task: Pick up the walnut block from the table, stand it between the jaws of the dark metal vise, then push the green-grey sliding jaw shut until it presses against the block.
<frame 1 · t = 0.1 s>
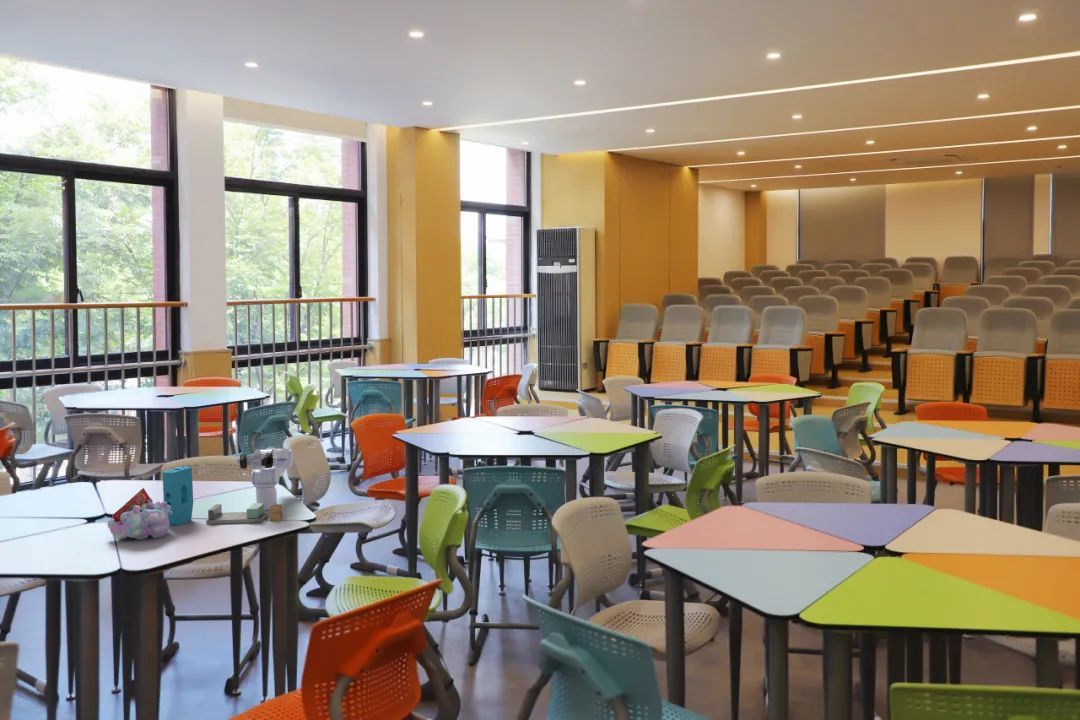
hand: (251, 462, 345), 22 cm above the table, fingers open, 7 cm apart
walnut block: (276, 518, 348), on the table
lumpy lavender blob: (140, 537, 324), on the table
vise: (238, 519, 347), on the table
block: (179, 523, 344), on the table
sliding jaw: (255, 510, 347), point 3 cm above the table, slide at 11.0 cm
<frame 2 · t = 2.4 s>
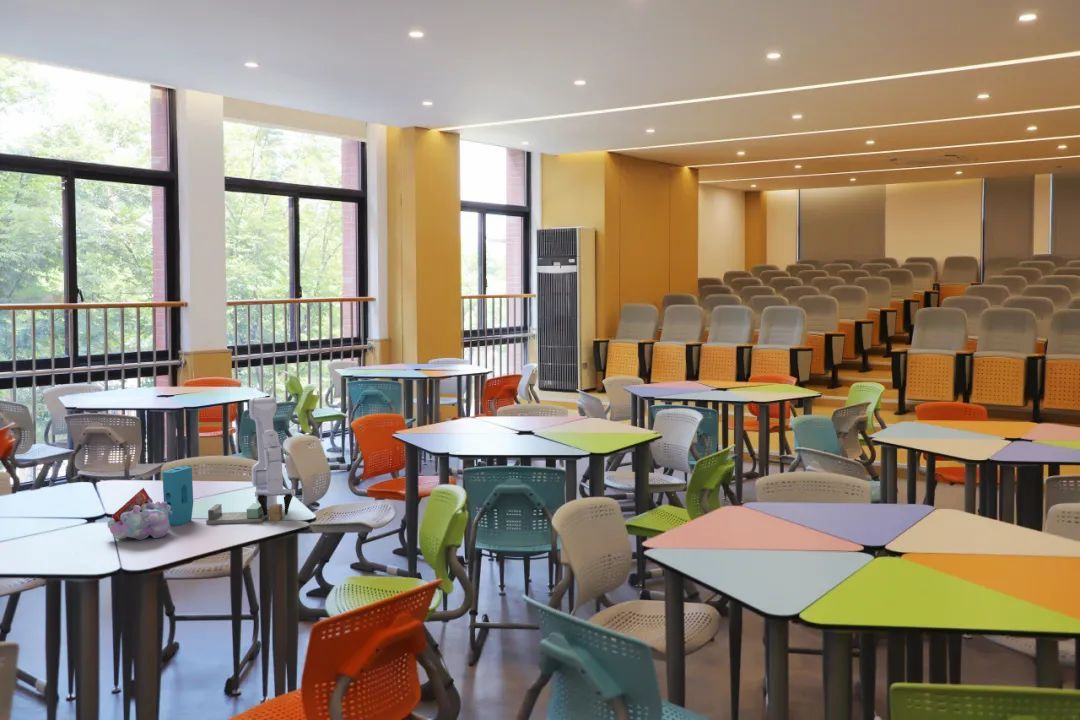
hand: (276, 514, 348), 1 cm above the table, fingers open, 7 cm apart
nothing on the table moved.
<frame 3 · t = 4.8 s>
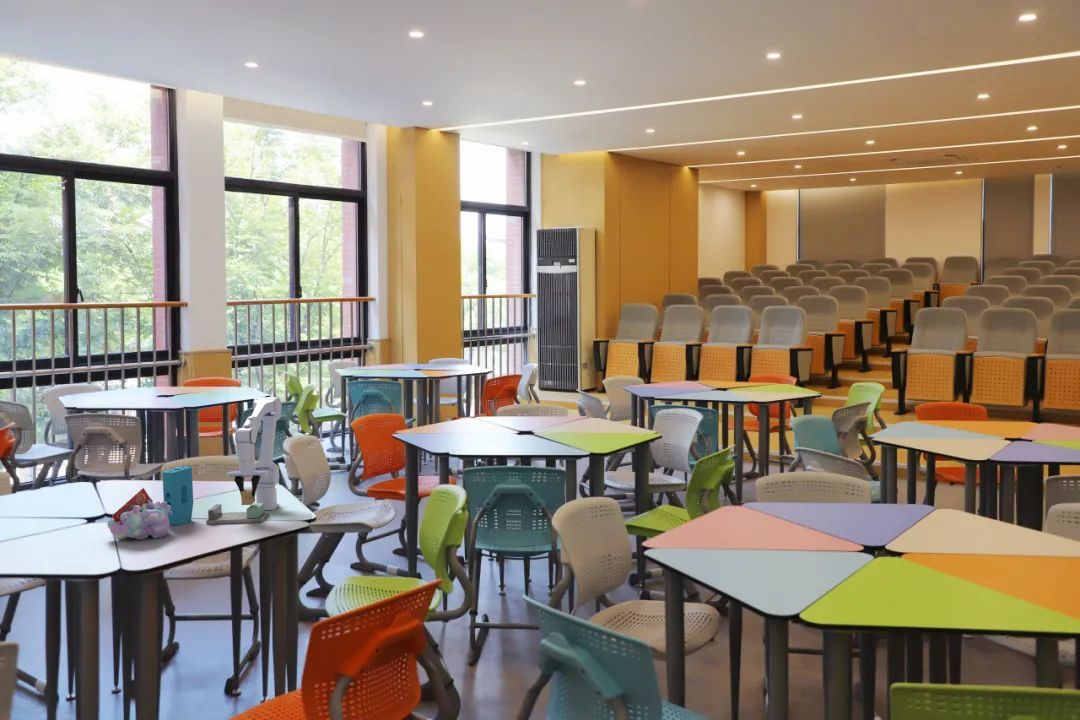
hand: (248, 495, 347), 9 cm above the table, fingers closed on walnut block, 3 cm apart
walnut block: (248, 503, 346), point 6 cm above the table, touching gripper
everything else where it was.
when the fingers open (4 cm above the table, at t = 6.5 s): walnut block stays where it is, resting on vise.
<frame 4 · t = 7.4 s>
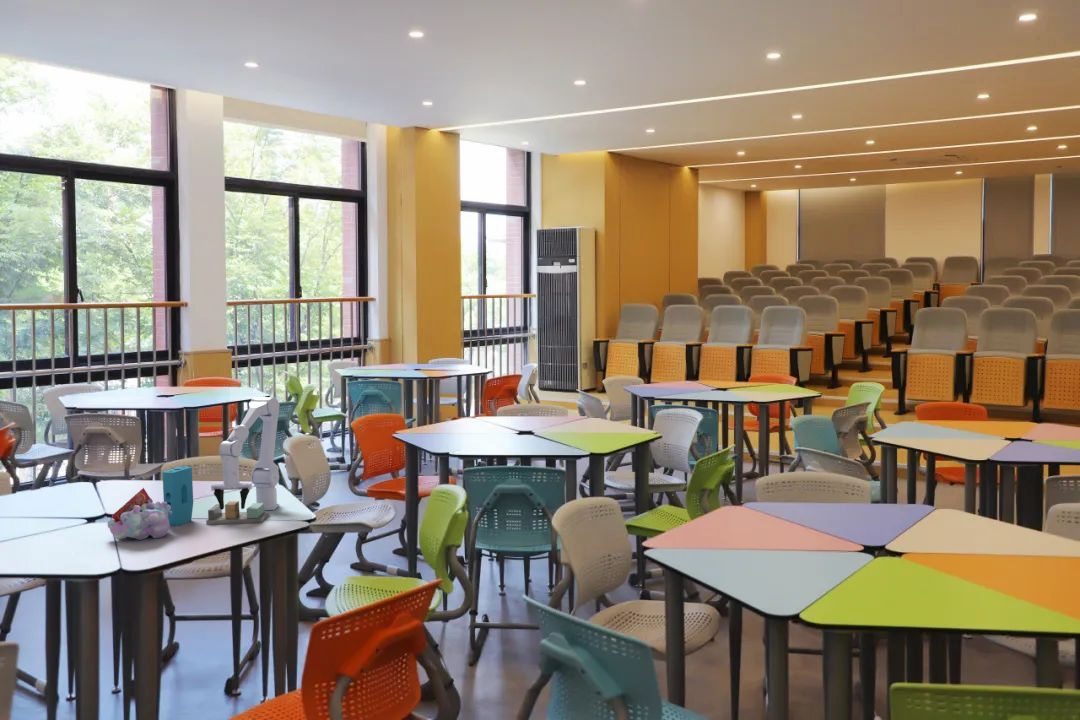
hand: (232, 508, 347), 4 cm above the table, fingers open, 7 cm apart
walnut block: (232, 516, 346), point 1 cm above the table, touching vise
everything else where it was.
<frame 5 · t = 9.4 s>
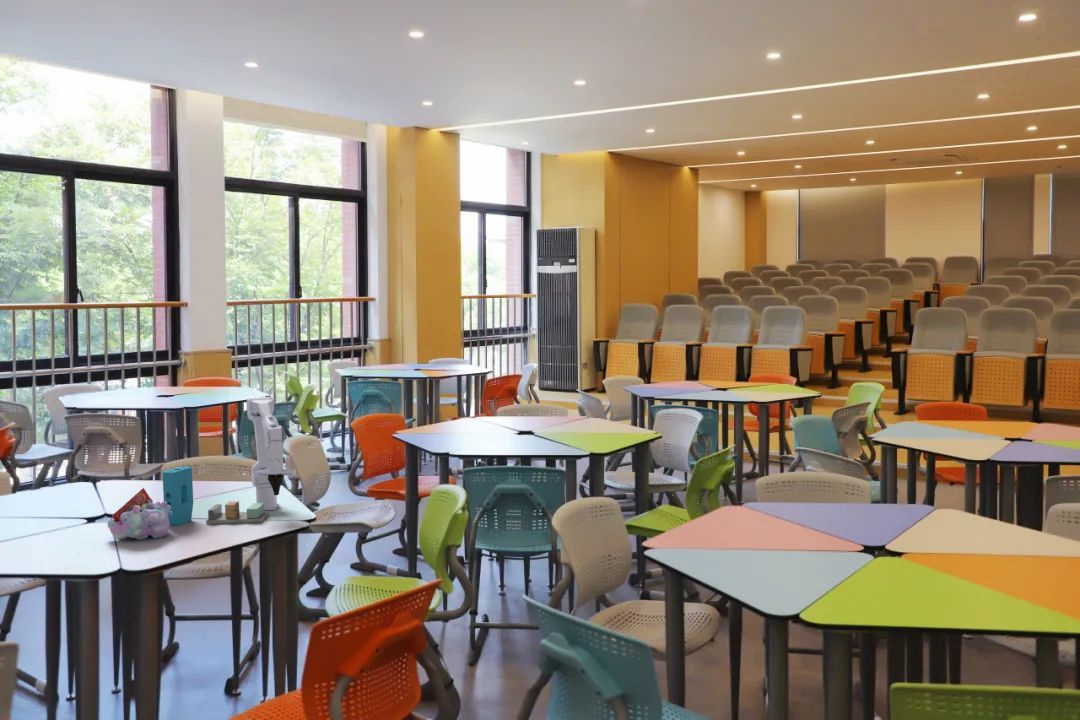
hand: (276, 494, 347), 9 cm above the table, fingers closed
nothing on the table moved.
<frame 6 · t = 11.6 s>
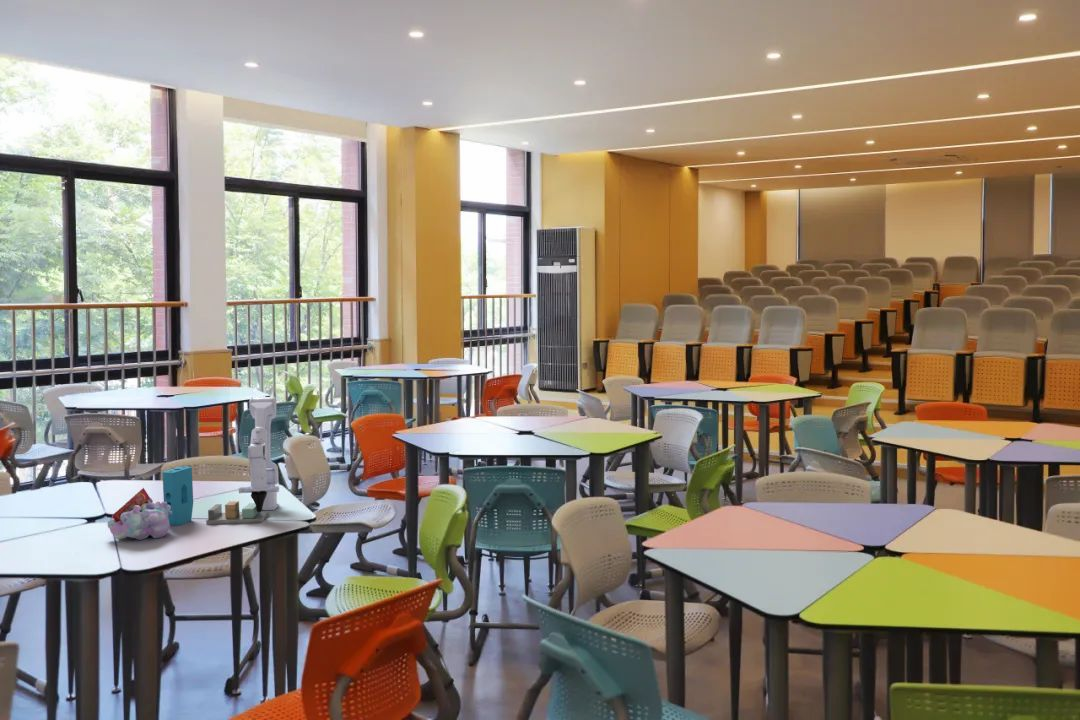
hand: (259, 511, 347), 3 cm above the table, fingers closed
sliding jaw: (251, 510, 347), point 3 cm above the table, slide at 9.3 cm, touching gripper
everything else where it was.
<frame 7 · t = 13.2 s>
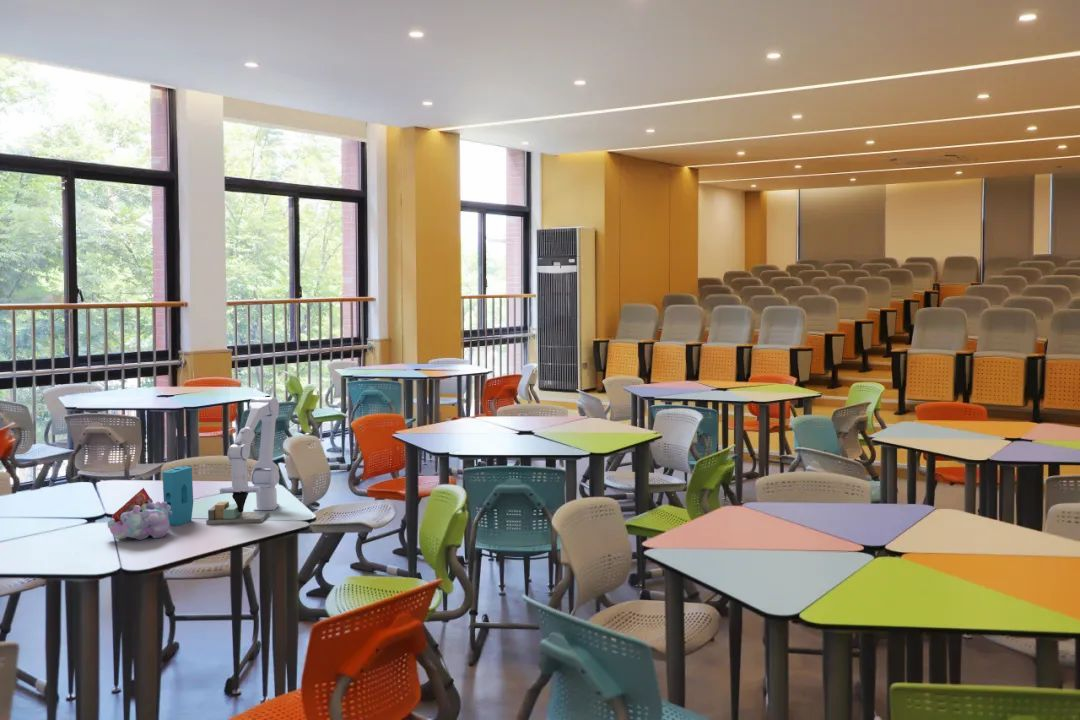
hand: (241, 512, 347), 3 cm above the table, fingers closed
walnut block: (222, 516, 346), point 1 cm above the table, touching sliding jaw, vise
sliding jaw: (232, 511, 347), point 3 cm above the table, slide at 2.5 cm, touching gripper, walnut block
everything else where it was.
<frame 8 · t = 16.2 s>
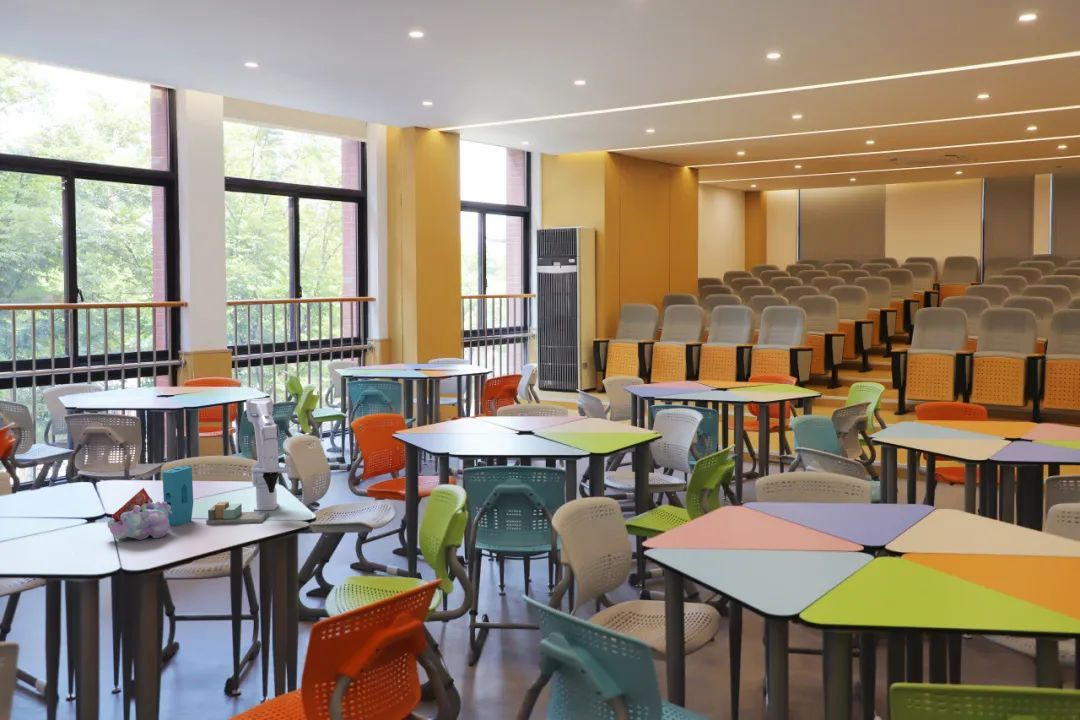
hand: (271, 492, 350), 9 cm above the table, fingers closed
sliding jaw: (232, 511, 347), point 3 cm above the table, slide at 2.5 cm, touching walnut block
everything else where it was.
at the end: walnut block inside the target area on the vise (2.3 cm from its centre), point 1.5 cm above the vise's base; walnut block touching sliding jaw, vise; walnut block tilted 0° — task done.
